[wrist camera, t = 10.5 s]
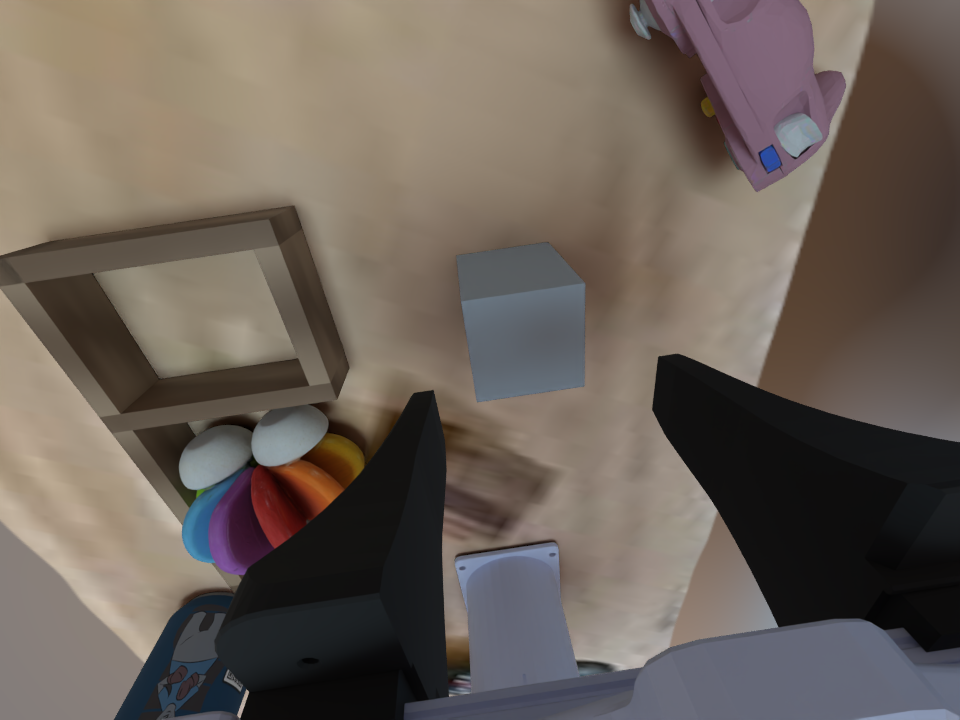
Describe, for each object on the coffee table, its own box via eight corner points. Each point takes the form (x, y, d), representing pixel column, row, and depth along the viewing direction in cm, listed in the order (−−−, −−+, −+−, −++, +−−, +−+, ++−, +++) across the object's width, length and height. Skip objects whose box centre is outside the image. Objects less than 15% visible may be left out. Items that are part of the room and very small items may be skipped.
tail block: (551, 324, 22) (584, 386, 17) (469, 337, 22) (477, 402, 17) (547, 241, 20) (585, 283, 14) (456, 255, 20) (460, 301, 14)
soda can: (212, 642, 34) (112, 863, 24) (158, 599, 31) (14, 836, 21) (287, 623, 34) (219, 841, 24) (241, 578, 30) (137, 810, 20)
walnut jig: (405, 530, 29) (401, 570, 27) (254, 553, 29) (236, 595, 27) (294, 205, 18) (268, 219, 15) (47, 241, 18) (-21, 261, 15)
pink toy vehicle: (608, -43, 16) (596, -18, 11) (735, -187, 13) (787, -229, 8) (723, 157, 20) (747, 234, 15) (840, 84, 17) (912, 152, 12)
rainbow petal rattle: (393, 480, 27) (378, 587, 21) (261, 518, 28) (207, 632, 21) (332, 379, 23) (290, 476, 16) (178, 427, 23) (82, 537, 17)
